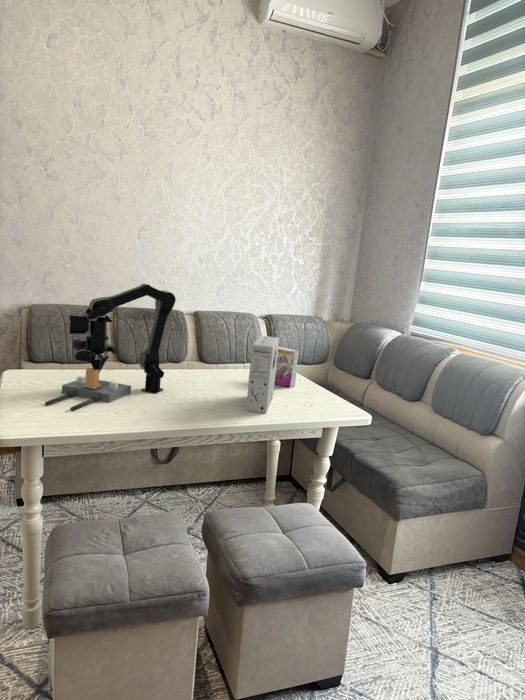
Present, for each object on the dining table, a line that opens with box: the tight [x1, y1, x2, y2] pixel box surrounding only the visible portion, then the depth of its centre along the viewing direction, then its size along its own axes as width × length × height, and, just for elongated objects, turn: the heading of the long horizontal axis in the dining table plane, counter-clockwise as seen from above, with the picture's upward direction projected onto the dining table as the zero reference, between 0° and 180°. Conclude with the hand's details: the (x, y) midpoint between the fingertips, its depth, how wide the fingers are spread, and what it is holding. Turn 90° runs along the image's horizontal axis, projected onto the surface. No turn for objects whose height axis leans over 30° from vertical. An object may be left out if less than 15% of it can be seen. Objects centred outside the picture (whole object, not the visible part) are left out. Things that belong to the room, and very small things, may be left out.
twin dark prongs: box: [44, 393, 96, 412], centre depth 176 cm, size 15×11×1 cm
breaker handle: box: [82, 367, 102, 389], centre depth 185 cm, size 5×5×6 cm
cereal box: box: [245, 335, 280, 414], centre depth 194 cm, size 22×8×25 cm, turn 172°
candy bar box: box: [274, 346, 300, 388], centre depth 227 cm, size 11×5×16 cm, turn 58°
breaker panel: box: [61, 375, 132, 404], centre depth 188 cm, size 16×20×5 cm
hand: (96, 375), depth 188 cm, fingers closed
